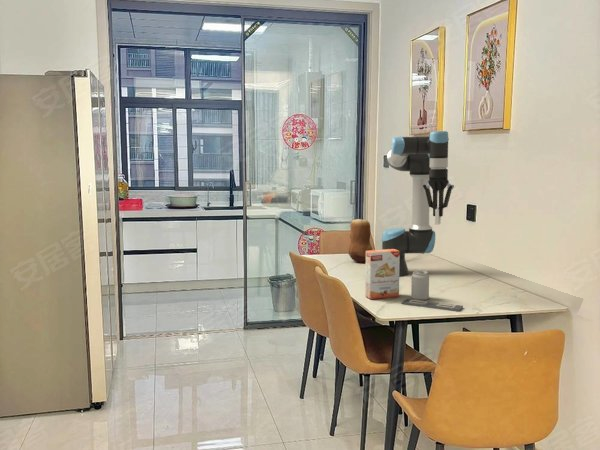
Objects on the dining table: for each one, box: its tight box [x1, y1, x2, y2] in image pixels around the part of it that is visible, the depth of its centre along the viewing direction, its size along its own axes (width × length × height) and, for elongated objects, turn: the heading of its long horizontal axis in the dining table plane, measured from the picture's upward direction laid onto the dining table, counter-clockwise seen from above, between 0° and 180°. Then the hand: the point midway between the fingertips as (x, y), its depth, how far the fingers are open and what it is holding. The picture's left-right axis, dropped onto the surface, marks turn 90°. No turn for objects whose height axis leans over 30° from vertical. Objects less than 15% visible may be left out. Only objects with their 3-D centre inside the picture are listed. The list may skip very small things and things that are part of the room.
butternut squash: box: [348, 218, 374, 264], centre depth 320 cm, size 14×13×25 cm
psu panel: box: [401, 298, 464, 313], centre depth 230 cm, size 6×24×1 cm, turn 58°
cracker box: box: [365, 249, 400, 300], centre depth 244 cm, size 14×6×21 cm, turn 106°
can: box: [410, 270, 430, 301], centre depth 240 cm, size 8×8×12 cm
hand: (437, 223), depth 237 cm, fingers closed
